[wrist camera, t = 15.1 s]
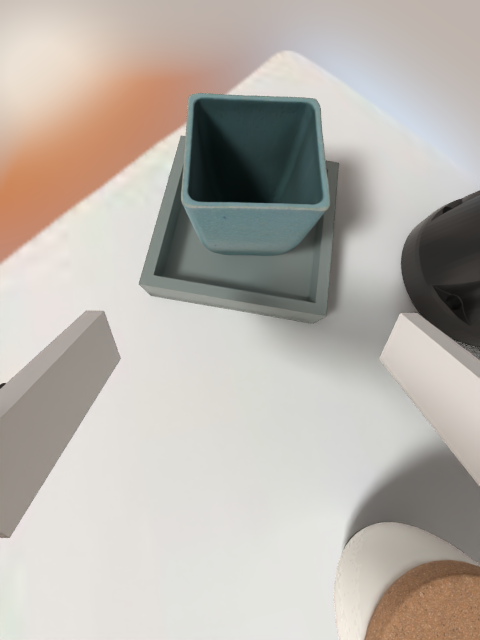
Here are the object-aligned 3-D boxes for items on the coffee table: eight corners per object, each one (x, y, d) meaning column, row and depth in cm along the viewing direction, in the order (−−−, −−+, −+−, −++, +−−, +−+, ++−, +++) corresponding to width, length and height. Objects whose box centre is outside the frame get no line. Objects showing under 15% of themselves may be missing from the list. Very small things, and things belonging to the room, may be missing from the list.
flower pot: (203, 193, 24) (187, 89, 15) (287, 196, 24) (320, 95, 15) (200, 272, 22) (179, 205, 13) (291, 273, 22) (332, 209, 13)
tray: (326, 186, 26) (338, 162, 23) (313, 323, 22) (326, 316, 19) (186, 162, 26) (180, 135, 23) (150, 295, 22) (138, 284, 19)
